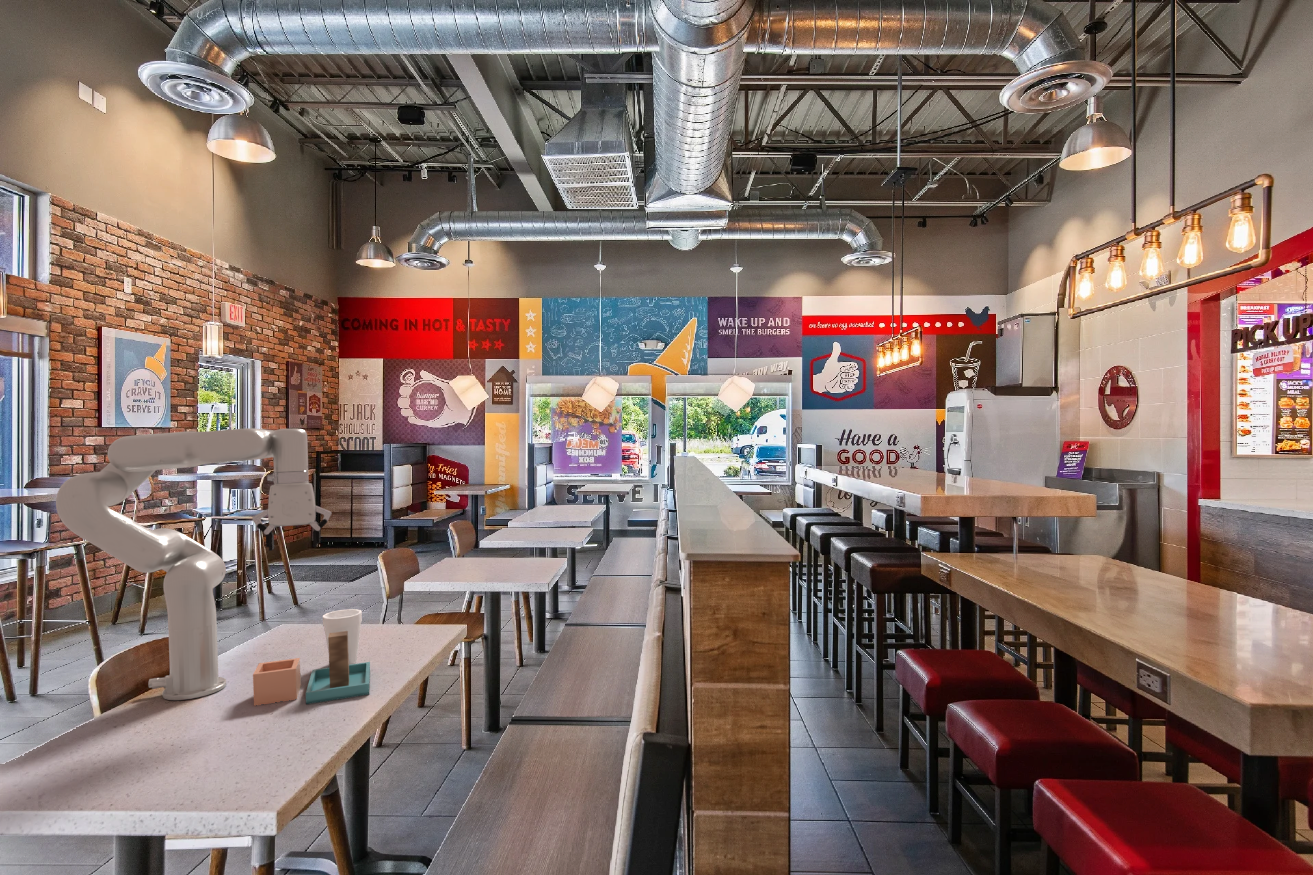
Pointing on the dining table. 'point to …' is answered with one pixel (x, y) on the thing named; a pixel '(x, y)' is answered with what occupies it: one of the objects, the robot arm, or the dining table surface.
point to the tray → (322, 691)
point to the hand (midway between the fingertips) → (293, 548)
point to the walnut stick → (338, 659)
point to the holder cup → (276, 681)
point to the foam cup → (345, 628)
